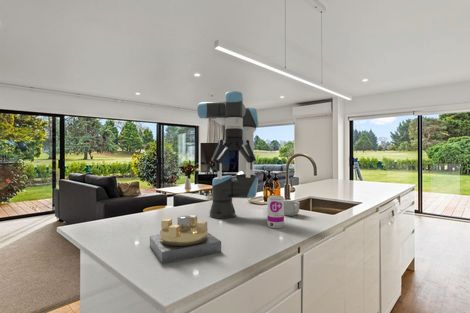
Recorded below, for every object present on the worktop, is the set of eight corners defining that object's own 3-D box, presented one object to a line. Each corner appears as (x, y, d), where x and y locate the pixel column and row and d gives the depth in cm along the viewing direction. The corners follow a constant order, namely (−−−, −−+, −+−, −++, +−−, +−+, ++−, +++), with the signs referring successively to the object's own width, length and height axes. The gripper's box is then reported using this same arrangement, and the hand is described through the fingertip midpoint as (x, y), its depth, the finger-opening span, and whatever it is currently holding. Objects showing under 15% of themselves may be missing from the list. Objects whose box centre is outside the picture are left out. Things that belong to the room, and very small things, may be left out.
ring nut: (155, 235, 108) (155, 215, 108) (197, 228, 116) (197, 210, 116) (167, 249, 92) (166, 225, 92) (215, 240, 101) (215, 219, 101)
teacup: (279, 213, 165) (279, 200, 165) (296, 212, 166) (296, 199, 165) (285, 218, 151) (285, 204, 151) (304, 218, 152) (304, 203, 152)
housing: (149, 245, 108) (149, 235, 108) (201, 237, 118) (201, 227, 118) (161, 263, 90) (161, 251, 90) (221, 251, 101) (221, 240, 101)
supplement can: (283, 228, 131) (283, 198, 130) (266, 228, 132) (266, 197, 132) (284, 224, 138) (284, 195, 138) (268, 223, 140) (267, 194, 140)
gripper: (209, 126, 106) (210, 180, 107) (263, 128, 117) (263, 177, 118) (203, 128, 113) (203, 178, 113) (254, 130, 124) (254, 176, 124)
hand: (234, 178), depth 115 cm, fingers open, 13 cm apart
